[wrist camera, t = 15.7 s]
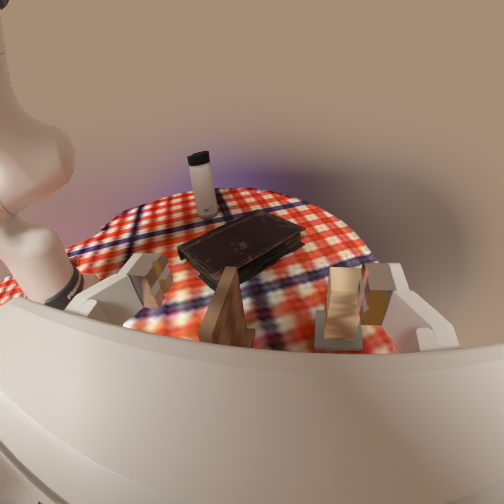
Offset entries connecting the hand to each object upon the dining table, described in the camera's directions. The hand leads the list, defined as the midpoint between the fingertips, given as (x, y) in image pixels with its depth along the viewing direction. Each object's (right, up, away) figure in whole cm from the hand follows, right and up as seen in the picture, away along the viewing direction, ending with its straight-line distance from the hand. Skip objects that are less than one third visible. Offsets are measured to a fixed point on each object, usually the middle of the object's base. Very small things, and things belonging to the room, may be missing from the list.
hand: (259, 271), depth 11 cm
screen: (-3, -16, +30) cm, 34 cm away
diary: (-2, 0, +55) cm, 55 cm away
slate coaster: (+14, -13, +32) cm, 38 cm away
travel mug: (-14, +12, +73) cm, 75 cm away
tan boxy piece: (+14, -12, +32) cm, 37 cm away
